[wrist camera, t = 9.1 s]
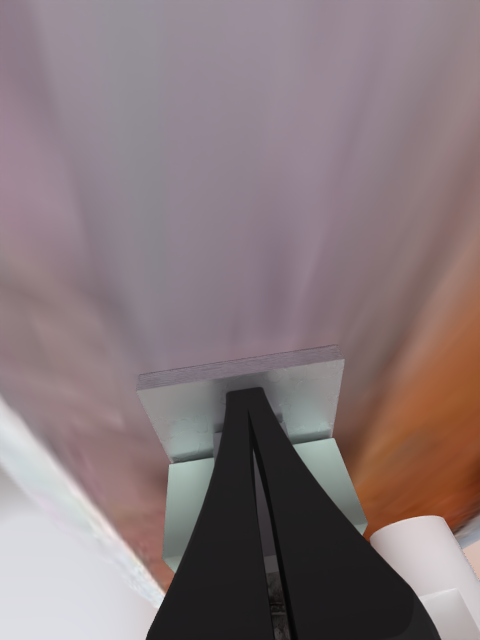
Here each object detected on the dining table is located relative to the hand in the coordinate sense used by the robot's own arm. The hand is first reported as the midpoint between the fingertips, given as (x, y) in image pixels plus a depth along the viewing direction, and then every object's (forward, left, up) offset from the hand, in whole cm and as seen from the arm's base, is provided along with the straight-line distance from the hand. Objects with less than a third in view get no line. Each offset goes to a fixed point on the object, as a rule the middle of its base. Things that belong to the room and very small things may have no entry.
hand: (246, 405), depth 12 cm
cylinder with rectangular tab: (-17, +34, -4) cm, 38 cm away
